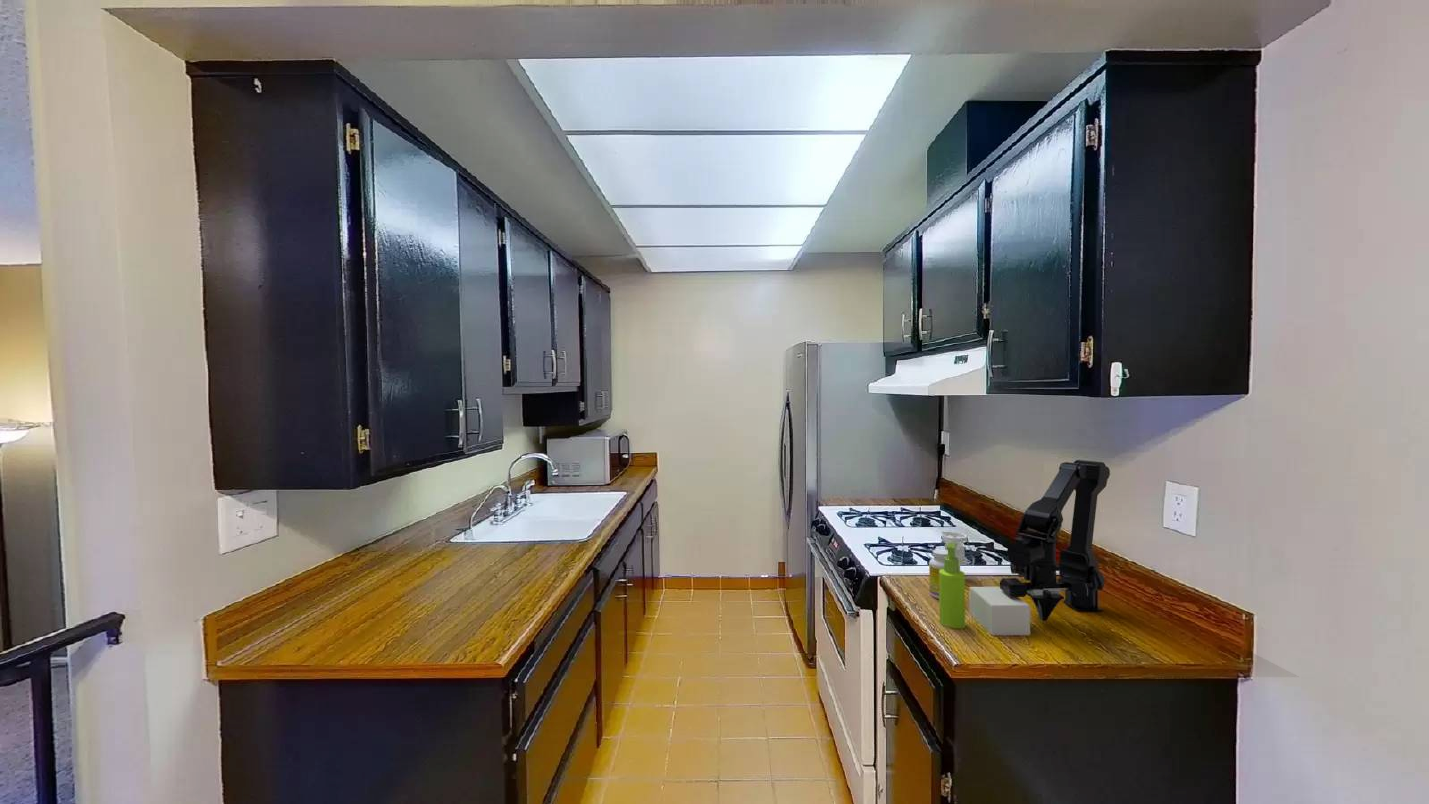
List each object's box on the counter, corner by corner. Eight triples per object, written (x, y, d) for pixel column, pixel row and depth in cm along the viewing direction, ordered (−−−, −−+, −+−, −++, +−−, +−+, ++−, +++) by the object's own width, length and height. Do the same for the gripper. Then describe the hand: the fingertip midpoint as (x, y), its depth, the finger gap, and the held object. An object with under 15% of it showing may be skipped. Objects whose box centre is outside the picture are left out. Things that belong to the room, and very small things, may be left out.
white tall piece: (943, 574, 167) (942, 527, 166) (967, 577, 164) (967, 529, 163) (941, 581, 160) (941, 533, 160) (967, 584, 157) (966, 535, 157)
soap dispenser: (966, 619, 134) (965, 542, 134) (963, 630, 128) (962, 549, 128) (941, 614, 137) (940, 539, 137) (938, 625, 131) (937, 546, 131)
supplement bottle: (940, 602, 145) (939, 556, 145) (924, 593, 152) (923, 549, 151) (960, 598, 147) (959, 553, 147) (943, 590, 154) (943, 547, 153)
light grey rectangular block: (1004, 613, 137) (1004, 586, 137) (1030, 635, 125) (1029, 605, 125) (969, 613, 137) (969, 586, 137) (992, 635, 125) (991, 605, 125)
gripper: (1061, 548, 138) (1062, 606, 138) (988, 549, 139) (990, 607, 139) (1089, 562, 127) (1090, 625, 127) (1010, 564, 128) (1011, 626, 128)
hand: (1043, 620), depth 131 cm, fingers closed
